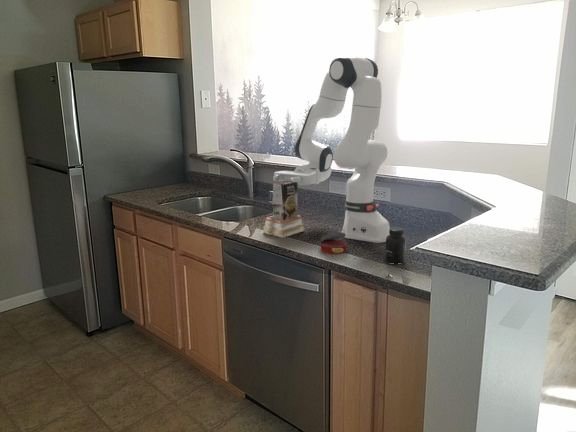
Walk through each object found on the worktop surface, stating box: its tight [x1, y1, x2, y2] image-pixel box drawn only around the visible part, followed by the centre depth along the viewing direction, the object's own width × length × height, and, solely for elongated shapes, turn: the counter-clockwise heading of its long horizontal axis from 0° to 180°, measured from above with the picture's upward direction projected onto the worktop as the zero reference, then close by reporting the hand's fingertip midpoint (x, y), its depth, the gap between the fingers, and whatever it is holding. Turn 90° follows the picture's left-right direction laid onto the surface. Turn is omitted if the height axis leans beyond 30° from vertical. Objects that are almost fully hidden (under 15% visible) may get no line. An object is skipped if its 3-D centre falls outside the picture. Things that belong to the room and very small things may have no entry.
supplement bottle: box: [384, 226, 407, 264], centre depth 158 cm, size 7×7×12 cm
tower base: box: [262, 214, 305, 239], centre depth 197 cm, size 11×14×7 cm
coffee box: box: [272, 181, 298, 221], centre depth 194 cm, size 9×6×16 cm
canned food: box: [319, 231, 348, 255], centre depth 172 cm, size 11×10×10 cm
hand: (282, 179), depth 192 cm, fingers open, 8 cm apart
